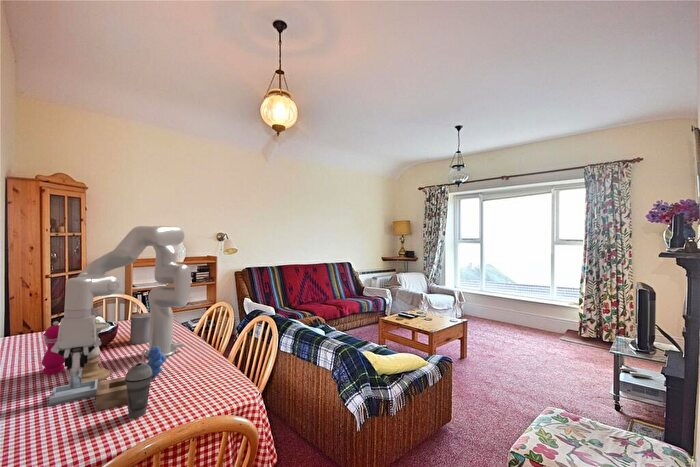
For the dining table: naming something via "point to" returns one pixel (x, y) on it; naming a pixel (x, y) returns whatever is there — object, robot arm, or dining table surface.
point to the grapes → (156, 360)
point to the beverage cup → (138, 388)
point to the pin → (75, 367)
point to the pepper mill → (52, 359)
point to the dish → (73, 393)
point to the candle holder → (95, 361)
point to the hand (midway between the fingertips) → (76, 366)
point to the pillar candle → (140, 328)
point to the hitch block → (111, 393)
